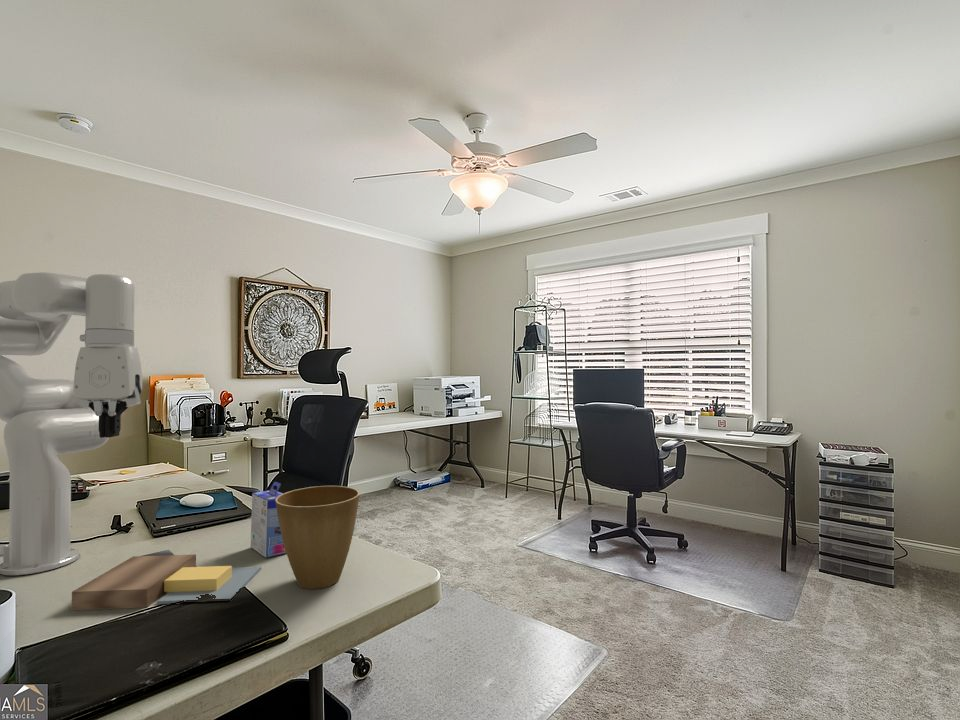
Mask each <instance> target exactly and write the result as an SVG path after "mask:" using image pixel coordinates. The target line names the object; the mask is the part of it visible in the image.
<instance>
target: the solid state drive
mask: <svg viewBox="0 0 960 720" xmlns="http://www.w3.org/2000/svg"><path fill="white" fill-rule="evenodd" d="M162 555H175V554H174V553H173V552H172V551H171V550H170V549H165V550H160V551H156V552H152V553H148V554H143V555H142V556H162Z"/></svg>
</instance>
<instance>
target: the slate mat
mask: <svg viewBox="0 0 960 720" xmlns="http://www.w3.org/2000/svg"><path fill="white" fill-rule="evenodd" d="M261 570H262V566H244V567H243V566H241V567H232V577H231V578H230V579H229V580H227V581H226V582H225V583H224V584H223V585H222V586H221V587H220V588H219V589H218V590H212V591H183V592H166V593H165V594H164V595H162V596H161V597H160V598H159V599H157V600H156V604H157V605H171V604H170V603H175V602H178V601H183V600H184V601H186V600H198V598H196V597H199V598H201V596H200V595H205V594H209V595H211V594H212V595H215V596H216V598H215V599H231V598H232V597H233V596H234V595H235V594H236V592H238V591H239V589H240V588H242V587H246V586H247V585H248V584H249V583H250V582H251V580H253V578H255V576H256V575H257V574H258V573H259V572H260V571H261ZM212 595H211V596H212ZM213 599H214V598H213Z"/></svg>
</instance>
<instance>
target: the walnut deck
mask: <svg viewBox="0 0 960 720" xmlns="http://www.w3.org/2000/svg"><path fill="white" fill-rule="evenodd" d="M183 567H197V554H195V553H193V554H191V553H190V554H174V555H162V556H143V555H137V556H136V555H135V556H131V557H130V558H128V559H127V560H124V561H123V562H121V563H119V564H117V565H116V566H114V567H112V568H111V569H109V570H107V571H106V572H104V573H102V574H100V575H99V576H97V577H95V578H93V579H91V580H89V581H88V582H86V583H84V584H83V585H81V586H80V587H77V588H76V589H74V590H73V591H71V611H85V610H90V611H91V610H107V609H108V610H111V609H112V610H114V609H134V608H135V609H136V608H139V609H140V608H149V606H151V605H152V604H154V603H155V602H157V601H158V600H159V599H161V598H162V597H163V596H164V595H166V594H167V592H164V580H166V579H167V578H169V577H170V576H171V575H173V574H174V573H176V572H177V571H178V570H180V569H181V568H183Z"/></svg>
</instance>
